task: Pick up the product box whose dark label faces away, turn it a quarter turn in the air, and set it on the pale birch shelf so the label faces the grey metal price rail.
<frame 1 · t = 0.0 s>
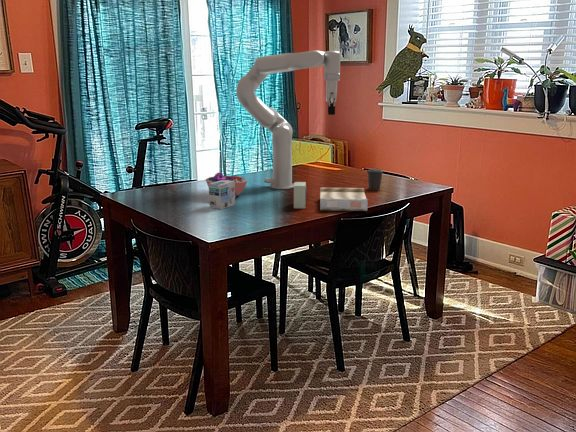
hand: (331, 113, 281), 37 cm above the table, tool pointing down, fingers open, 9 cm apart
cell model: (226, 196, 272), on the table
light bulb box: (222, 206, 254), on the table
coffee cup: (374, 189, 287), on the table
shelf: (342, 204, 257), on the table
product box: (299, 206, 255), on the table
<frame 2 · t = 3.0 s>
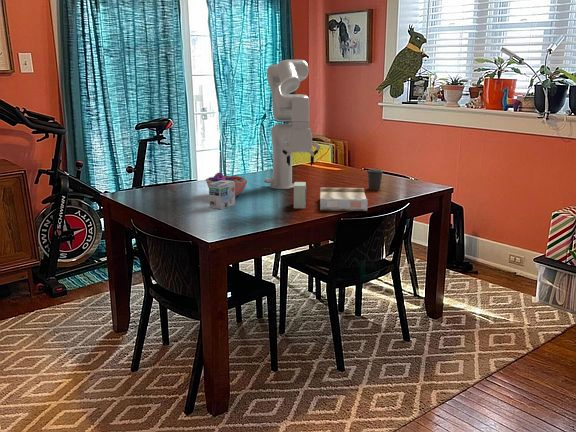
hand: (300, 165, 249), 18 cm above the table, tool pointing down, fingers open, 9 cm apart
nothing on the table moved.
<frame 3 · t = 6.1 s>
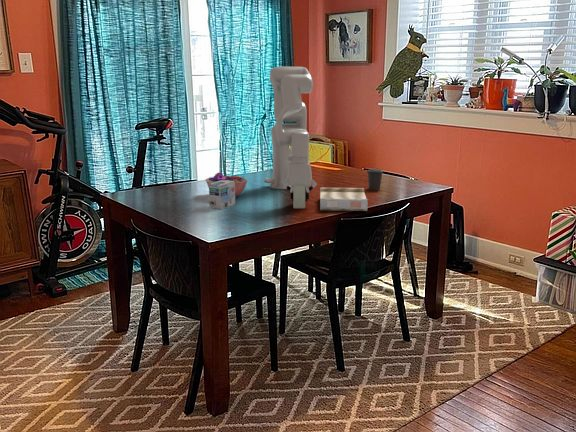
hand: (299, 200, 254), 2 cm above the table, tool pointing down, fingers closed on product box, 5 cm apart
product box: (299, 205, 255), on the table, touching gripper
everything else where it was.
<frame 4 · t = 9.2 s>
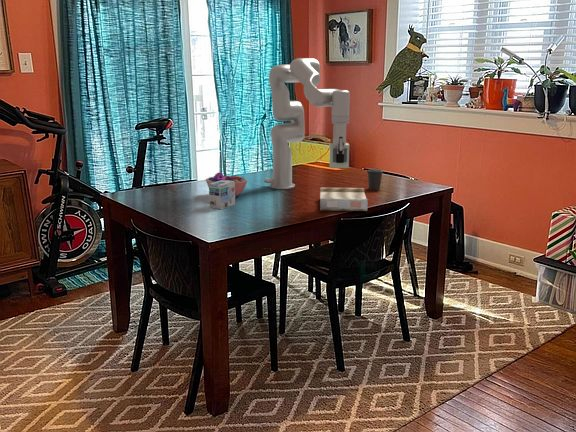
hand: (339, 161, 251), 20 cm above the table, tool pointing down, fingers closed on product box, 5 cm apart
product box: (339, 166, 252), point 17 cm above the table, touching gripper
everything else where it was.
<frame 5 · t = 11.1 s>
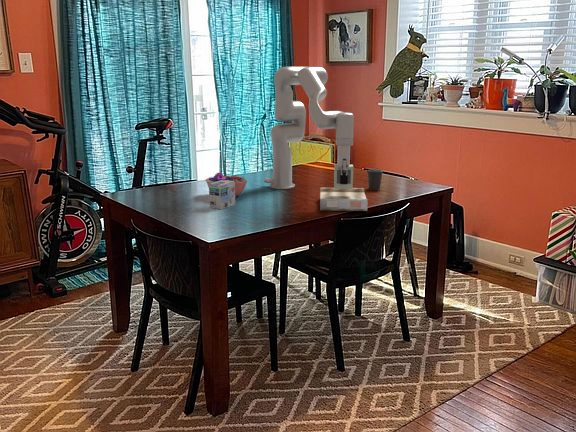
hand: (343, 182, 254), 10 cm above the table, tool pointing down, fingers closed on product box, 5 cm apart
product box: (343, 187, 254), point 8 cm above the table, touching gripper
everything else where it was.
when the fingers open (7 cm above the table, at t = 12.5 s): product box stays where it is, resting on shelf.
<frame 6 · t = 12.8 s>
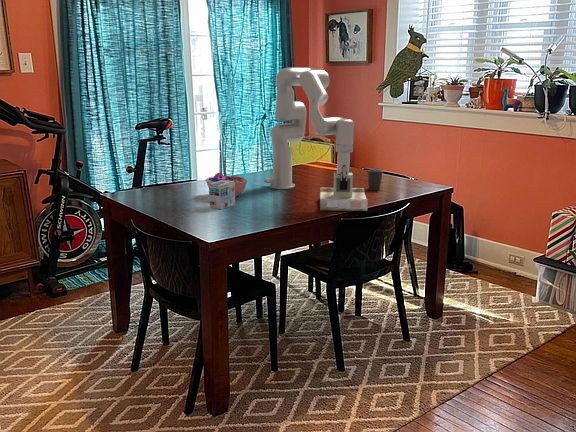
hand: (343, 187, 254), 8 cm above the table, tool pointing down, fingers open, 8 cm apart
product box: (342, 195, 256), point 4 cm above the table, touching shelf
everything else where it was.
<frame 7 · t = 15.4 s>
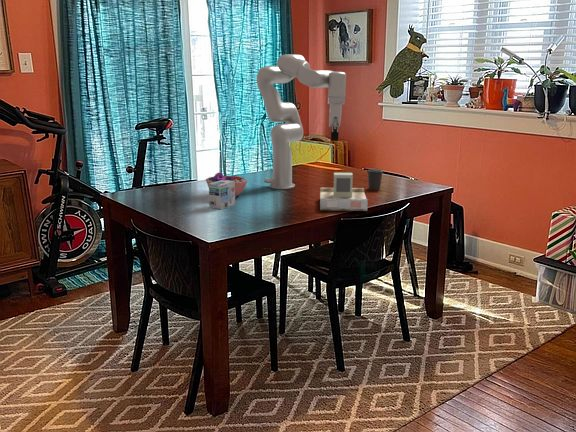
hand: (334, 138, 260), 28 cm above the table, tool pointing down, fingers open, 9 cm apart
nothing on the table moved.
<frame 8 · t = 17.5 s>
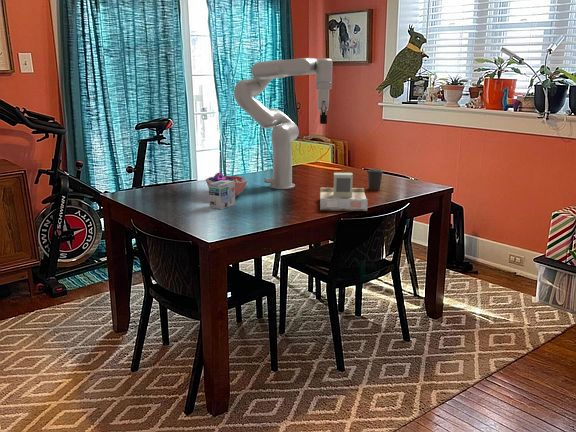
hand: (323, 122, 274), 33 cm above the table, tool pointing down, fingers open, 9 cm apart
nothing on the table moved.
at the end: product box inside the target area on the shelf (0.2 cm from its centre), point 4.0 cm above the shelf's base; product box tilted 0°; the gripper is holding nothing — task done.
